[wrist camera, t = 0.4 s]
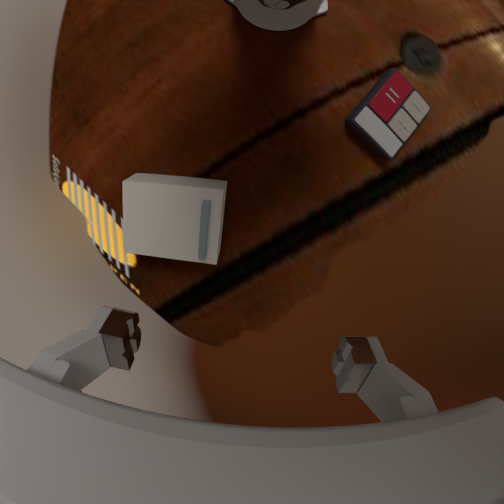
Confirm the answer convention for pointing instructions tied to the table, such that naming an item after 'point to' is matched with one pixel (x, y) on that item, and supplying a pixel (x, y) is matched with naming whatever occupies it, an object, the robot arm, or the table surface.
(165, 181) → the box
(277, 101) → the table surface
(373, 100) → the calculator
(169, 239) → the lid
